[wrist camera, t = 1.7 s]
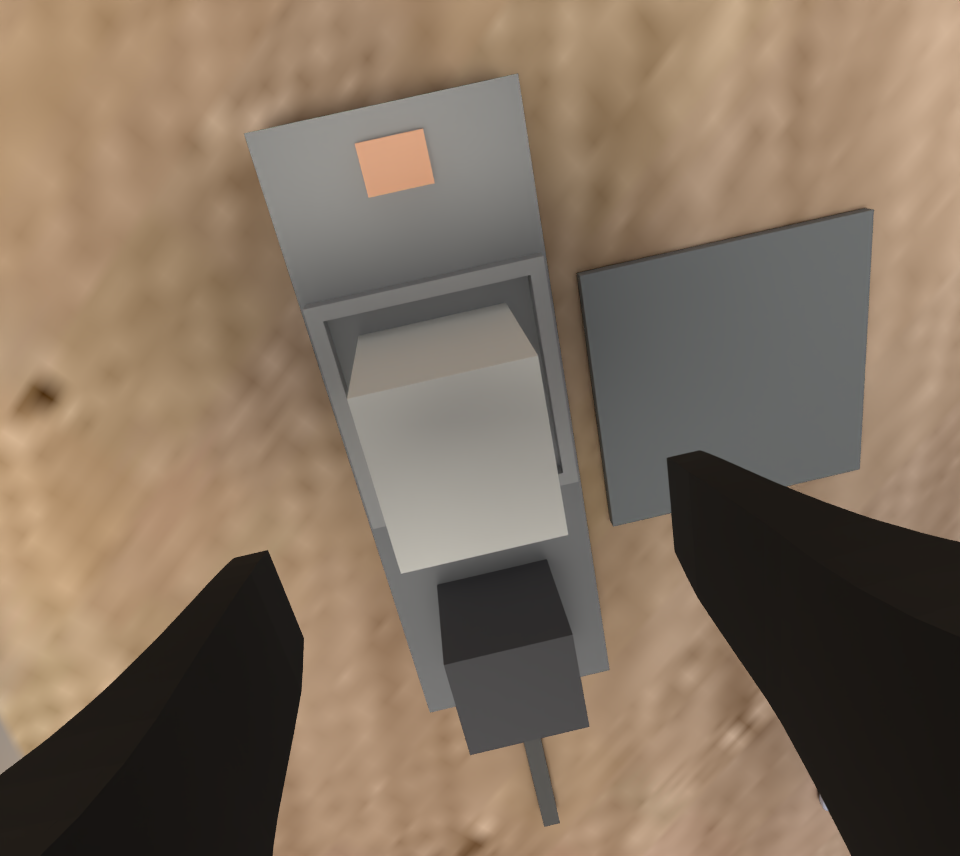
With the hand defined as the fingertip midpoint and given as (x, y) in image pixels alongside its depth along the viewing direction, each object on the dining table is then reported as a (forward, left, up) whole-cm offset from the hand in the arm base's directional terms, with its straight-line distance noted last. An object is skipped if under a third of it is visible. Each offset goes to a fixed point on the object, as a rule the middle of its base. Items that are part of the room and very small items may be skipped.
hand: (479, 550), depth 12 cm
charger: (0, 0, -8) cm, 8 cm away
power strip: (0, +7, -10) cm, 12 cm away
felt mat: (-9, +3, -10) cm, 14 cm away
